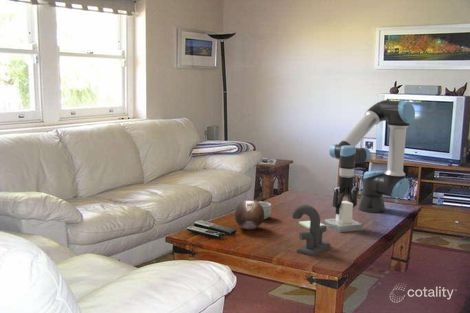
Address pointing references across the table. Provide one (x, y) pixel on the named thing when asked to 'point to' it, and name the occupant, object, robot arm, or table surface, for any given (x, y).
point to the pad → (307, 224)
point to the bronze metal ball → (249, 214)
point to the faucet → (311, 231)
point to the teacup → (266, 208)
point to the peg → (346, 212)
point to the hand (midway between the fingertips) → (343, 219)
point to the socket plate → (343, 225)
